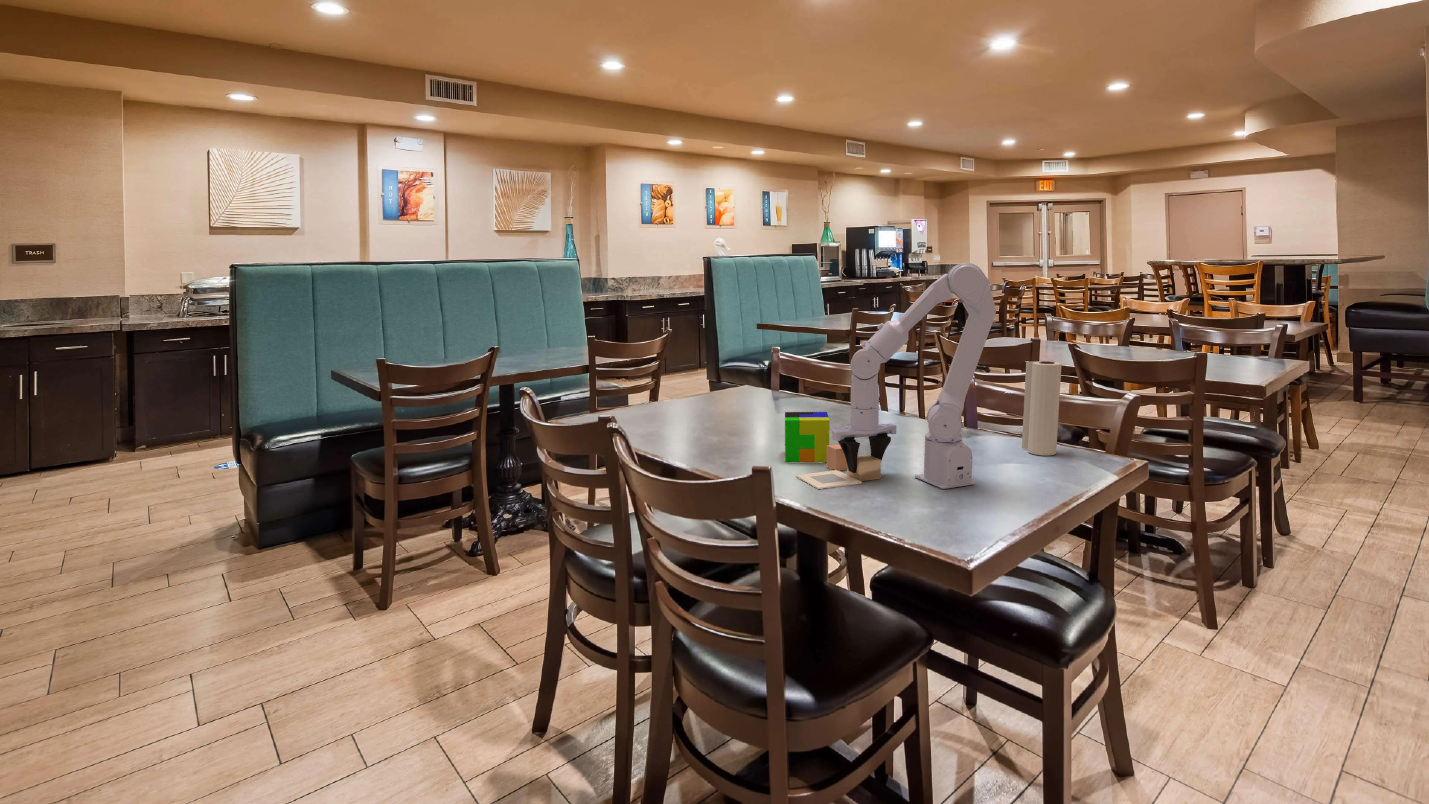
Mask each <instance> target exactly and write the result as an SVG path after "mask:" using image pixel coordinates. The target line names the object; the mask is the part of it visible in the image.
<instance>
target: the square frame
mask: <svg viewBox="0 0 1429 804" xmlns="http://www.w3.org/2000/svg"><path fill="white" fill-rule="evenodd" d="M796 477H797V478H796ZM795 478H796V479H798V478H800V479H801V480H800V479H799V480H800V481H802V480H803V481H805V482H807V483H808V484H807V483H806V484H807V485H809V484H811V485H812V486H813V488H814V487H816V488H817V489H816V488H815V489H816V490H818V489H821V490H824V489H823V488H828V489H830V488H829V487H835V488H841V487H847V486H855V485H861V484H863V481H859V480H857V479H855V478H853V477H851V476H848V475H847V474H846V473H844V472H843V471H838V470H827V471H819V472H813V473H805V474H804V473H803V474H797V475H795ZM803 481H802V482H803ZM805 482H804V483H805ZM811 485H810V486H811ZM812 486H811V487H812Z"/></svg>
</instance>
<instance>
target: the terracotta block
mask: <svg viewBox="0 0 1429 804" xmlns="http://www.w3.org/2000/svg"><path fill="white" fill-rule="evenodd" d="M827 466H828V467H829V468H828V467H827ZM826 467H827V468H828V469H830V468H831V469H830V470H832V469H834V470H838V471H839V470H843V471H847V461H846V458H845V455H844V452H843V450H842V448H841V446H840V444H839V443H836V444H829V445H827V463H826Z"/></svg>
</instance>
